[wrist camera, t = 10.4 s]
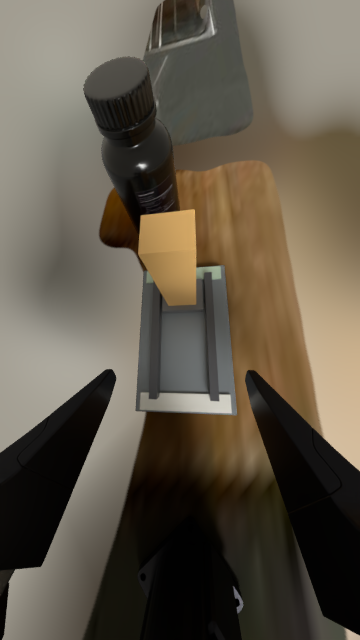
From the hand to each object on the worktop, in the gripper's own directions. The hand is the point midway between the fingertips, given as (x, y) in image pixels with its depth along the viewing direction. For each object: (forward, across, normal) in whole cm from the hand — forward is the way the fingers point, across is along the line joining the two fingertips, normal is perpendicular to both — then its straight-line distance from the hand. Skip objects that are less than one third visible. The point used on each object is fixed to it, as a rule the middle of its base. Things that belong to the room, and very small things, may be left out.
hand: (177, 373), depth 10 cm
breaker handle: (+9, 0, -1) cm, 9 cm away
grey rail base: (+8, 0, +2) cm, 8 cm away
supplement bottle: (+19, +4, -9) cm, 22 cm away
